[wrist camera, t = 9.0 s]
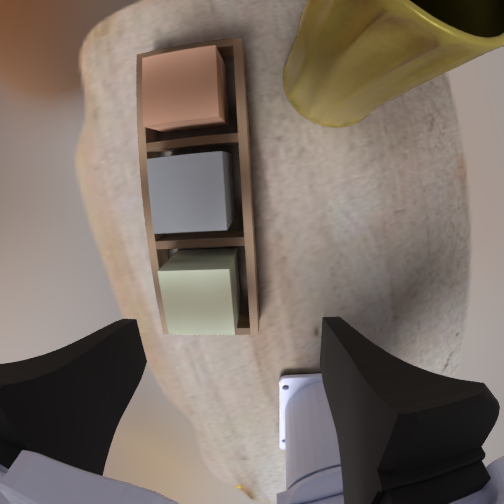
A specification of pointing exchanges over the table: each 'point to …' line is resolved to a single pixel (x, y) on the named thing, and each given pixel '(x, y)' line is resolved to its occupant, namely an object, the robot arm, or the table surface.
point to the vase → (381, 51)
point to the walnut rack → (189, 118)
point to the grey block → (191, 192)
